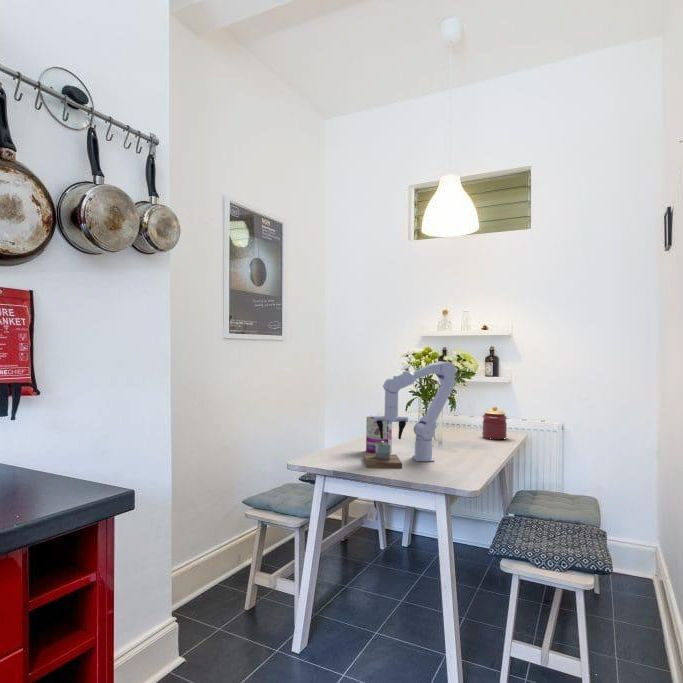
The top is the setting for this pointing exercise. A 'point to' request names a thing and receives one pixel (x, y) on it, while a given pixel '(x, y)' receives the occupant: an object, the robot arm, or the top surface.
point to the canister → (494, 424)
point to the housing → (382, 451)
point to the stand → (382, 462)
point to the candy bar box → (377, 434)
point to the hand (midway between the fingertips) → (390, 438)
